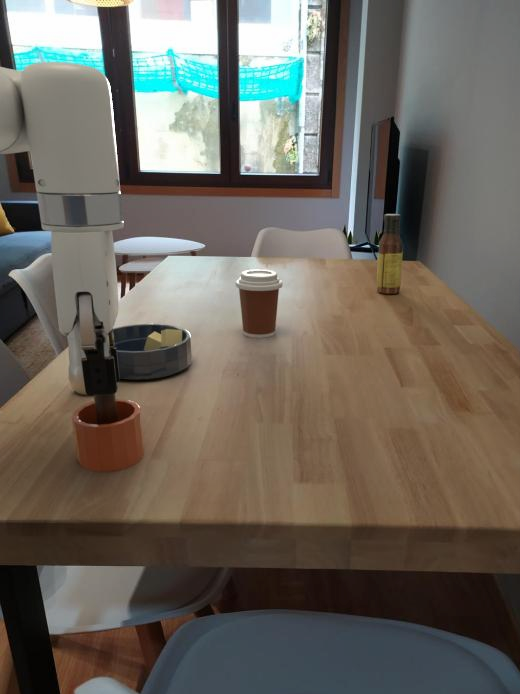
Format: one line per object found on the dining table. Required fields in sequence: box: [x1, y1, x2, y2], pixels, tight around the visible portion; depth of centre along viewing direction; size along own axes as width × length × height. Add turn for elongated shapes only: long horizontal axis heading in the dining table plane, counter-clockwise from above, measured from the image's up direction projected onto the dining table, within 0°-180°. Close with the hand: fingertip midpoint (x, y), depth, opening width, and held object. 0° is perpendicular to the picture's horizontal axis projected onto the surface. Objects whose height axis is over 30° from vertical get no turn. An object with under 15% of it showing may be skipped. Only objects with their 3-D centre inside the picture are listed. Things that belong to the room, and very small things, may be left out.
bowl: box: [110, 323, 193, 381], centre depth 90 cm, size 15×15×5 cm
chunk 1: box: [144, 331, 164, 351], centre depth 94 cm, size 3×3×3 cm
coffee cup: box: [235, 269, 283, 339], centre depth 106 cm, size 9×9×12 cm
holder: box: [71, 398, 145, 473], centre depth 62 cm, size 7×7×6 cm
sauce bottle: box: [376, 213, 404, 295], centre depth 140 cm, size 6×6×20 cm
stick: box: [93, 337, 118, 425], centre depth 60 cm, size 2×2×14 cm
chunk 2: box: [161, 329, 182, 348], centre depth 91 cm, size 3×3×3 cm
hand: (103, 386), depth 59 cm, fingers closed on stick, 2 cm apart
